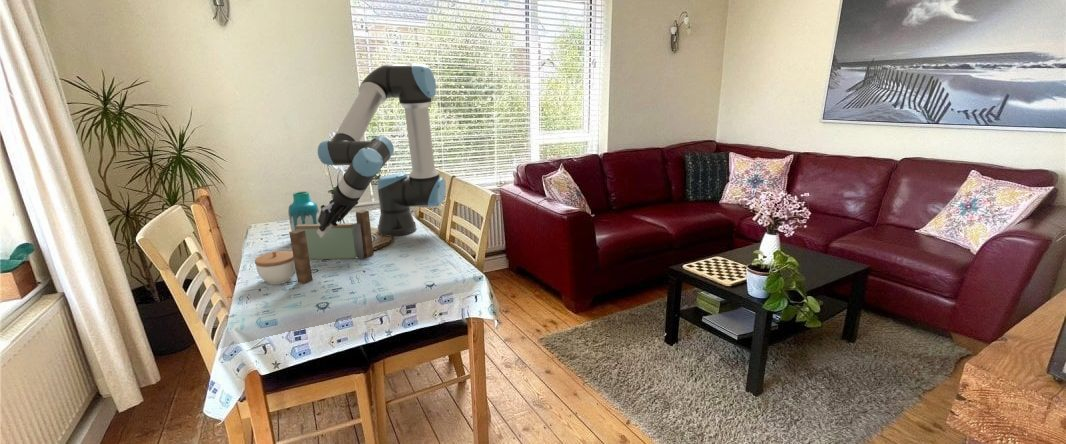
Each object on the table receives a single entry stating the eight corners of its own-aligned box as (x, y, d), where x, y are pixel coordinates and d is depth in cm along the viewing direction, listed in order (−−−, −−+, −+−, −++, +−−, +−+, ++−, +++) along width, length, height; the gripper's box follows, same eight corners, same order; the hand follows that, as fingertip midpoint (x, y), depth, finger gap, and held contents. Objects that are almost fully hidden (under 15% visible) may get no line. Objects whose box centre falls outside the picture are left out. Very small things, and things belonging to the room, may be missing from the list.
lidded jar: (282, 289, 135) (276, 259, 133) (250, 286, 138) (244, 256, 135) (306, 275, 146) (301, 246, 143) (276, 272, 148) (271, 245, 145)
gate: (365, 255, 161) (361, 222, 157) (363, 258, 158) (359, 224, 155) (303, 257, 160) (297, 224, 156) (300, 260, 157) (294, 226, 154)
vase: (299, 247, 171) (291, 197, 166) (288, 241, 178) (280, 193, 173) (328, 240, 178) (321, 192, 173) (316, 235, 185) (309, 188, 180)
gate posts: (367, 253, 164) (362, 209, 159) (373, 254, 163) (368, 210, 158) (297, 282, 140) (289, 232, 136) (304, 283, 139) (296, 233, 134)
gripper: (359, 176, 146) (330, 220, 158) (324, 184, 135) (296, 231, 147) (373, 194, 145) (343, 237, 158) (339, 203, 134) (310, 249, 146)
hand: (320, 234), depth 152 cm, fingers closed
